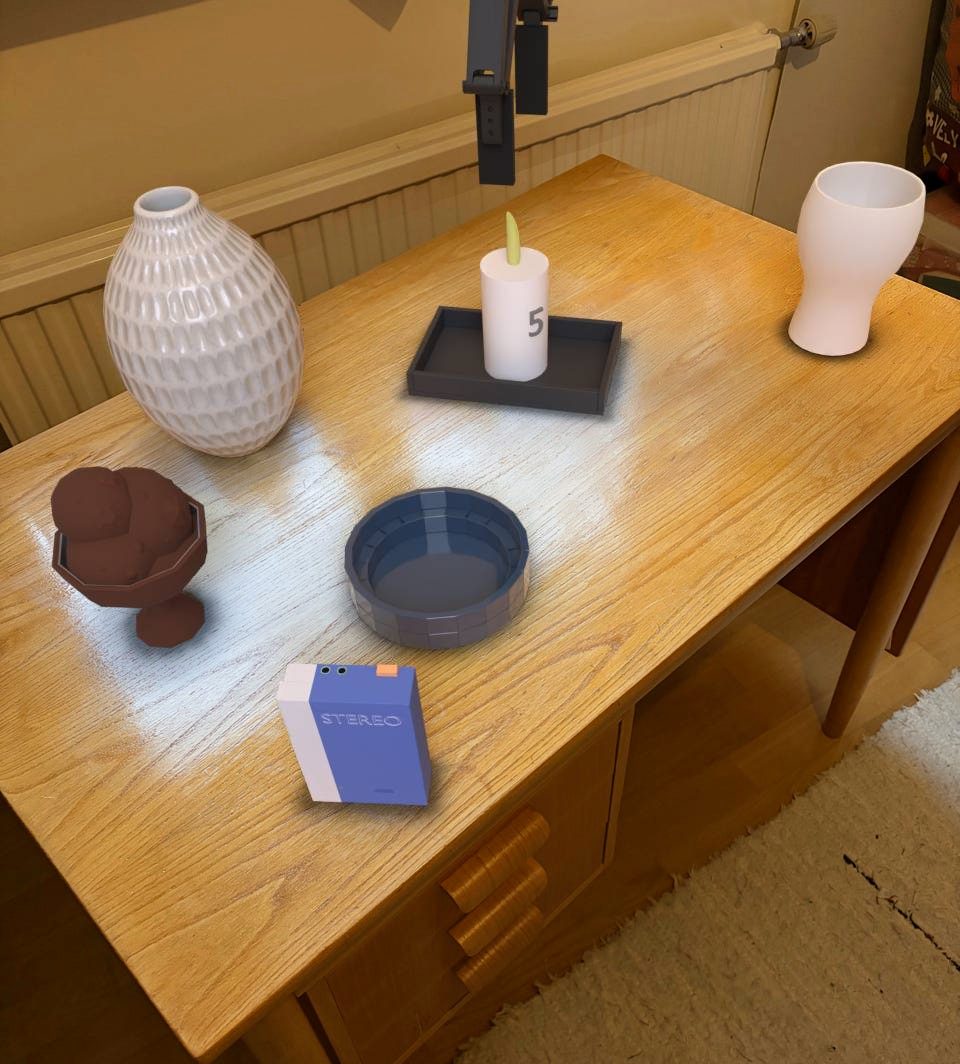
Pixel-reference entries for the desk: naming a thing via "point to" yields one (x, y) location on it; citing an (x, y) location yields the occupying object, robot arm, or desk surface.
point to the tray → (566, 385)
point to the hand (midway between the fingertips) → (515, 146)
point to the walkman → (357, 732)
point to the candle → (515, 309)
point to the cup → (852, 250)
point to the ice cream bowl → (132, 547)
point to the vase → (202, 326)
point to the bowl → (438, 567)
